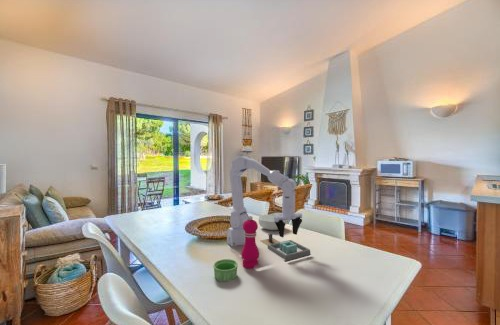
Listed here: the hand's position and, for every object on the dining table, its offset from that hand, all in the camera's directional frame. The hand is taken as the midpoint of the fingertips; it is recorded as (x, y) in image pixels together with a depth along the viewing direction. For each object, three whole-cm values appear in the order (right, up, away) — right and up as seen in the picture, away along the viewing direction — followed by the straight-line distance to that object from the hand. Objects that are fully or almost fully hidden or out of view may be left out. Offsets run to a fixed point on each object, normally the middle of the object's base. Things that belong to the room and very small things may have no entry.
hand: (288, 235), depth 105 cm
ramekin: (-26, -9, -20) cm, 34 cm away
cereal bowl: (-4, -7, +34) cm, 35 cm away
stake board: (-7, -8, +11) cm, 15 cm away
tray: (0, -8, 0) cm, 8 cm away
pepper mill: (-17, -9, -12) cm, 23 cm away
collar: (0, -7, 0) cm, 7 cm away
